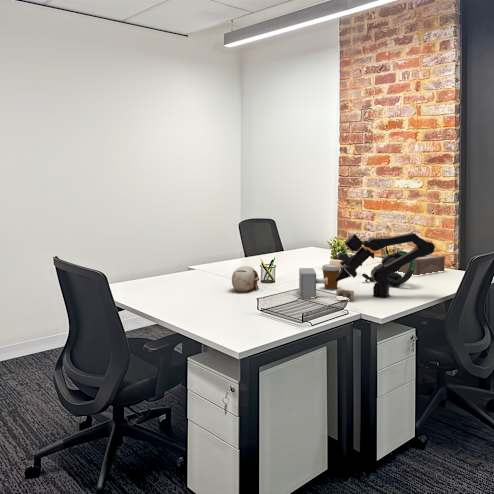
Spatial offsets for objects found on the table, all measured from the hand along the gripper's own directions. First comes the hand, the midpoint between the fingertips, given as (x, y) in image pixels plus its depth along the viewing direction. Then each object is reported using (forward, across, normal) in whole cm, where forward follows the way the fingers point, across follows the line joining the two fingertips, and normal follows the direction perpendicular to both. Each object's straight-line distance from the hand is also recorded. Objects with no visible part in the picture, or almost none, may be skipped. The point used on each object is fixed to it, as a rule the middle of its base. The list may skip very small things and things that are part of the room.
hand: (335, 280), depth 254 cm
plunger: (+6, 0, -4) cm, 7 cm away
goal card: (+3, +10, +8) cm, 13 cm away
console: (+15, -4, -4) cm, 15 cm away
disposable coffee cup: (+5, -19, +6) cm, 21 cm away
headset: (-17, -27, +28) cm, 43 cm away
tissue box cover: (-37, -66, +48) cm, 90 cm away
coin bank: (+37, -16, -25) cm, 47 cm away
